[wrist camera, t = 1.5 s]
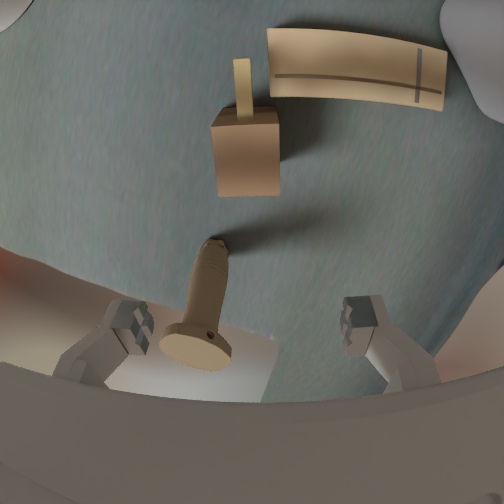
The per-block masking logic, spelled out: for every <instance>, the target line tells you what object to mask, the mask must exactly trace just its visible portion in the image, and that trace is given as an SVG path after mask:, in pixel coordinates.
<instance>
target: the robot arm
mask: <svg viewBox="0 0 504 504" xmlns="http://www.w3.org/2000/svg"><path fill="white" fill-rule="evenodd" d="M31 2H32V0H0V32H1V31H3V30H5V29H7V28H8V27H9V26H11V25H12V24H13V23H14V22H15V21H16V20H17V19H18V18H19V17H20V16H21V15H22V14H23V13H24V11H25V10H26V9H27V8H28V6H29V5H30V3H31ZM147 308H148V306H147V304H146V302H144V301H131V300H113V301H112V302H111V303H110V305H109V308H108V310H107V312H106V314H105V316H104V318H103V320H102V322H101V324H100V327H96V328H95V329H94V330H92V331H91V332H90V333H89V334H87V335H86V336H85V337H84V338H82V339H81V340H80V341H78V342H77V343H76V344H74V345H73V346H72V347H71V348H70V349H68V350H67V351H66V352H65V353H63V354H62V355H61V357H60V359H59V361H58V364H57V366H56V368H55V370H54V372H53V375H52V376H49V375H45V374H41V373H38V372H35V371H31V370H28V369H25V368H22V367H18V366H15V365H12V364H10V363H6V362H3V361H2V362H0V504H504V366H503V367H499V368H496V369H493V370H490V371H486V372H483V373H480V374H476V375H473V376H469V377H465V378H461V379H457V380H453V381H449V382H445V383H441V380H440V377H439V373H438V370H437V367H436V364H435V361H434V358H433V357H432V356H431V355H429V354H428V353H427V352H426V351H425V350H424V349H423V348H421V347H420V346H419V345H418V344H417V343H416V342H414V341H413V340H412V339H411V338H410V337H408V336H407V335H406V334H405V333H404V332H403V331H401V330H400V329H399V328H398V327H397V326H395V325H391V322H390V319H389V316H388V313H387V310H386V307H385V304H384V301H383V298H382V296H381V295H369V296H355V297H345V298H344V300H343V308H344V310H343V311H342V312H341V317H340V326H341V333H342V335H343V336H344V341H343V345H344V351H345V356H356V355H365V356H366V357H367V358H368V359H369V361H370V362H371V363H372V364H373V365H374V366H375V368H376V369H377V370H378V371H379V372H380V373H381V375H382V376H383V377H384V378H385V379H386V380H387V382H388V383H389V384H388V386H387V387H386V389H385V391H384V392H383V394H380V395H372V396H364V397H356V398H346V399H335V400H323V401H306V402H278V403H244V402H216V401H200V400H187V399H176V398H167V397H158V396H150V395H143V394H136V393H129V392H123V391H117V390H111V389H109V387H108V386H107V385H106V384H105V383H104V381H105V380H106V379H107V378H108V377H109V376H110V375H111V373H113V372H114V370H115V369H116V368H117V367H118V366H119V365H120V364H121V363H122V362H123V361H124V360H125V359H126V358H127V356H128V354H131V355H146V352H147V349H148V346H149V342H148V338H149V337H150V336H151V335H152V333H153V329H154V321H153V317H152V315H151V314H150V313H149V312H147Z"/></svg>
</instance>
